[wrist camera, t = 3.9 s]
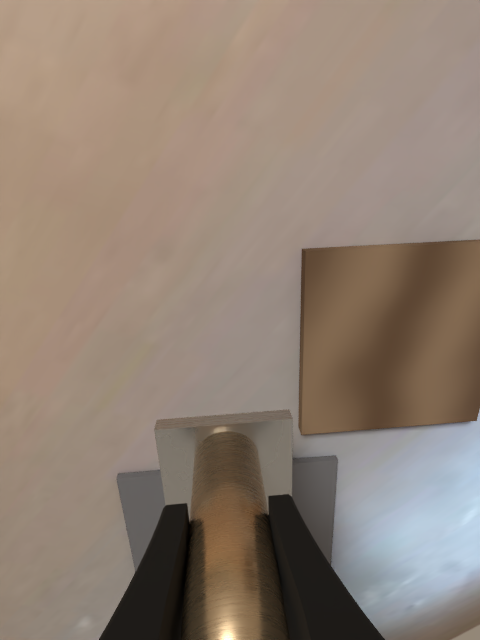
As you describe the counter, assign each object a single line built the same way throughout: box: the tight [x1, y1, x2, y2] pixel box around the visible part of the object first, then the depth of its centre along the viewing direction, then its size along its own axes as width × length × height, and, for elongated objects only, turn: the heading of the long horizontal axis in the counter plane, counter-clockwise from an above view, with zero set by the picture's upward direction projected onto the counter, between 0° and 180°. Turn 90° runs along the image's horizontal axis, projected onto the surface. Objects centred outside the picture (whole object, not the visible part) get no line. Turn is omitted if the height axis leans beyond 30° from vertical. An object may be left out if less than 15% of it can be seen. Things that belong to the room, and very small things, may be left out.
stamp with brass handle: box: [154, 410, 293, 640], centre depth 10 cm, size 6×5×9 cm
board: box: [299, 240, 480, 435], centre depth 20 cm, size 11×11×1 cm
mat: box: [117, 456, 338, 572], centre depth 25 cm, size 14×18×1 cm
